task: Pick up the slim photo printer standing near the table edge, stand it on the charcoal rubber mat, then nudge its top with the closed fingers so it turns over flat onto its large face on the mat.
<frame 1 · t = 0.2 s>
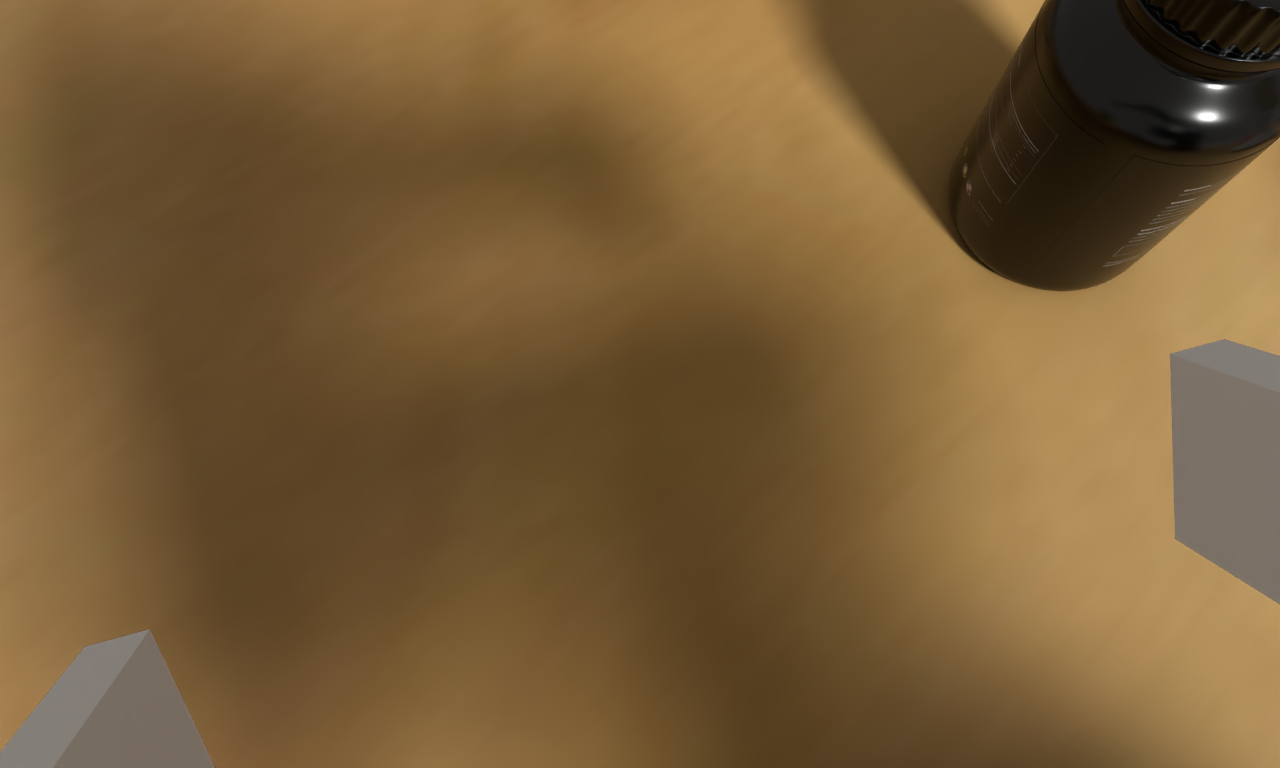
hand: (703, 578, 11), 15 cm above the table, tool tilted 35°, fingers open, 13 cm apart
supplement bottle: (1038, 209, 30), on the table
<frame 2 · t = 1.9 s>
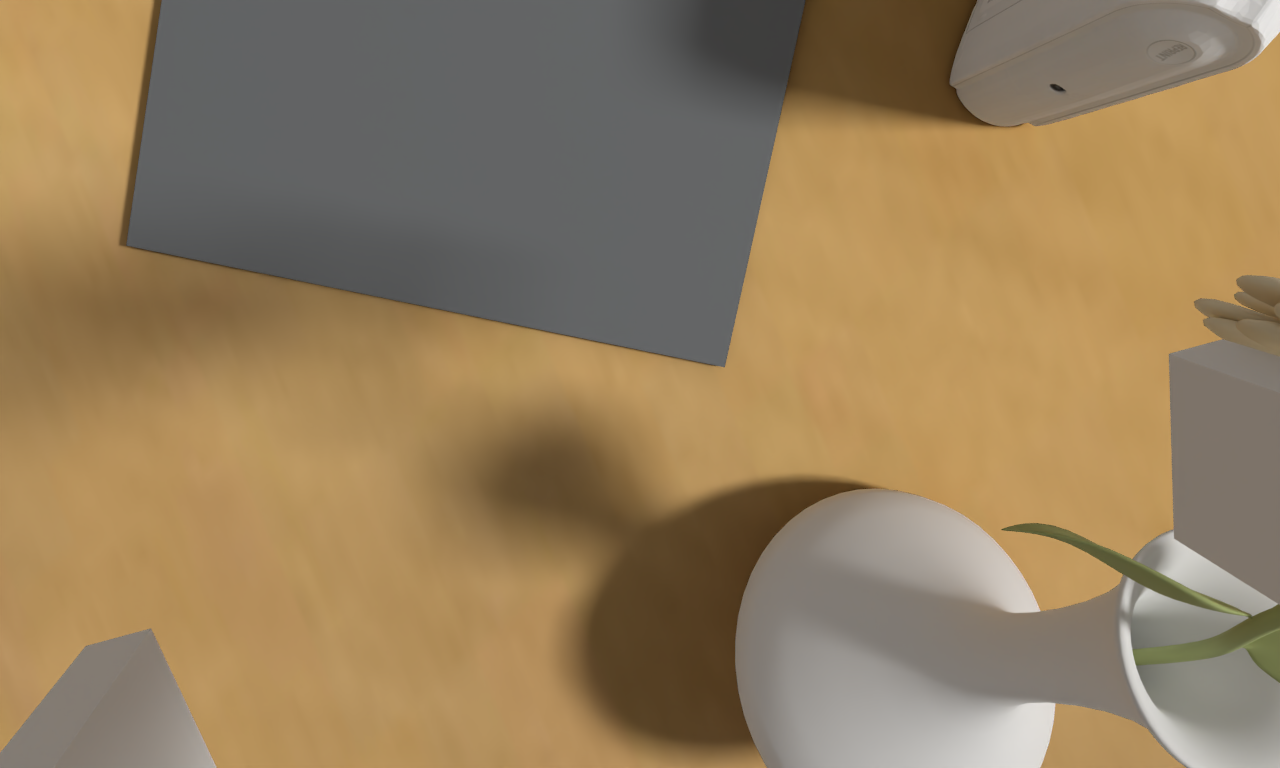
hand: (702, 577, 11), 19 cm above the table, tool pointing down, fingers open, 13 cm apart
mat: (481, 69, 29), on the table
flower in vase: (848, 649, 30), point 2 cm above the table
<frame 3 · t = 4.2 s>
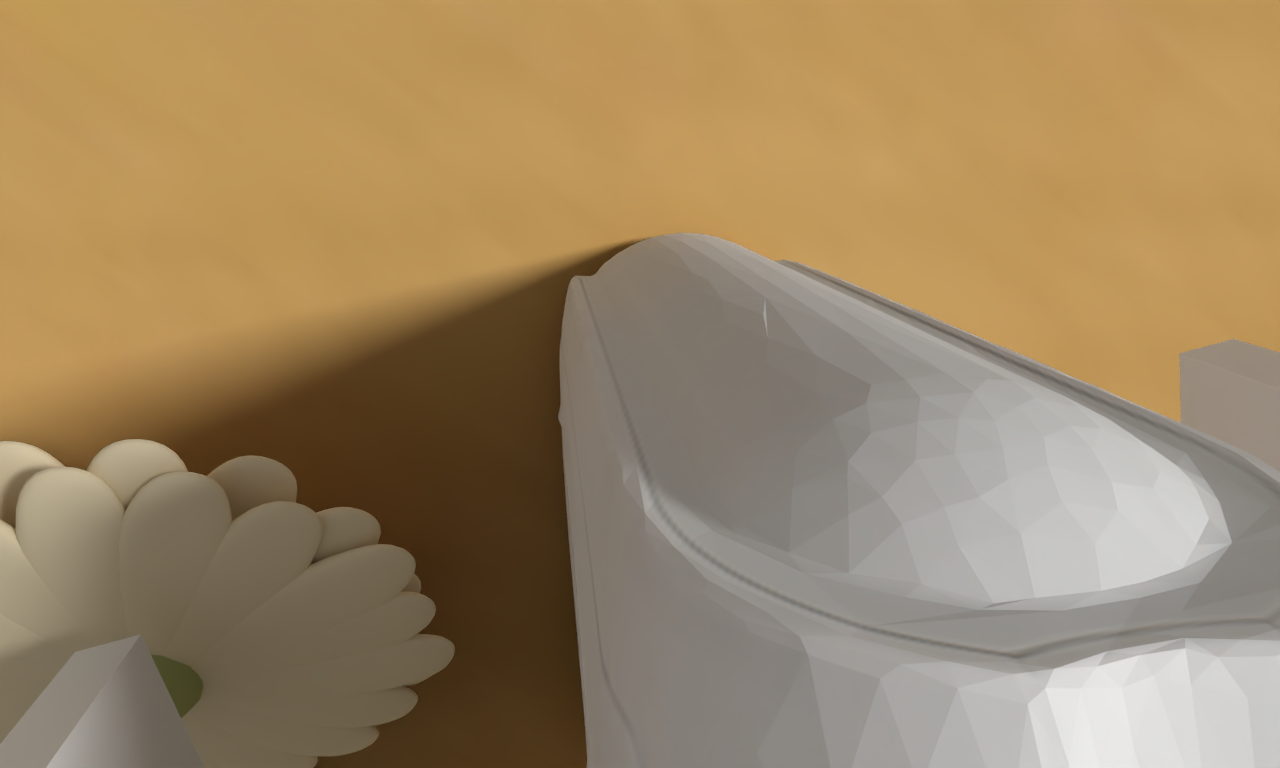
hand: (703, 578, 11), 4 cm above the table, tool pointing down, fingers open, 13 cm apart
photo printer: (687, 523, 15), on the table, touching flower in vase
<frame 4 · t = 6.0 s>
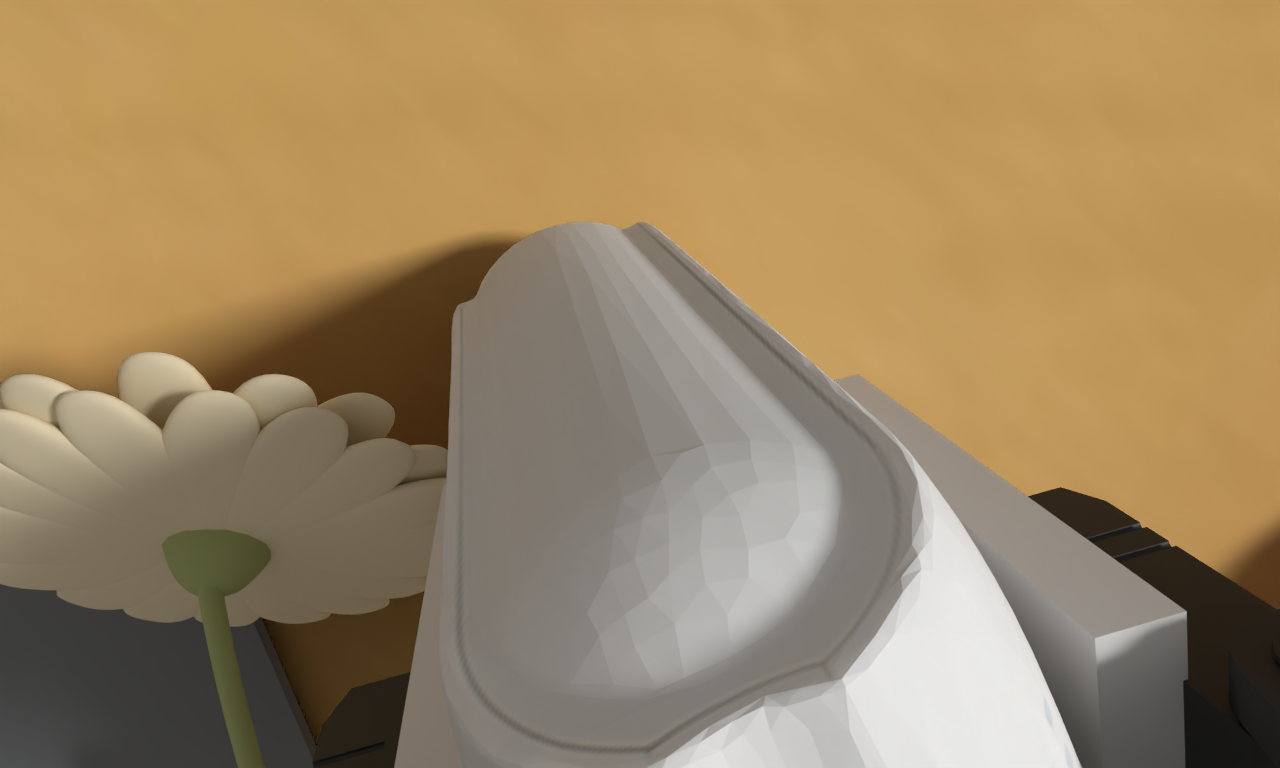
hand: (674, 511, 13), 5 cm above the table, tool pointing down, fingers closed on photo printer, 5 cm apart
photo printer: (646, 468, 17), point 1 cm above the table, touching gripper
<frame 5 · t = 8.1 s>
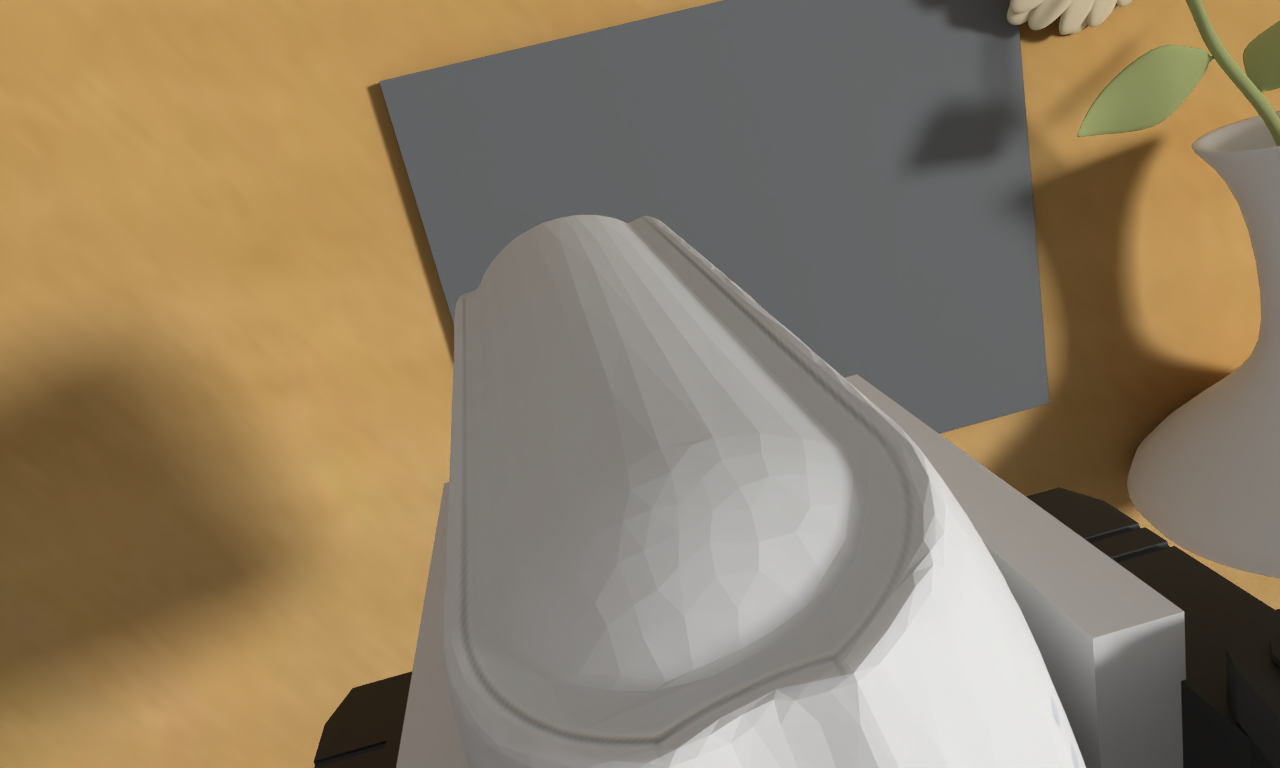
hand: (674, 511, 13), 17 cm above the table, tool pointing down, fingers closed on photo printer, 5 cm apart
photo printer: (646, 463, 17), point 13 cm above the table, touching gripper
mat: (748, 258, 29), on the table
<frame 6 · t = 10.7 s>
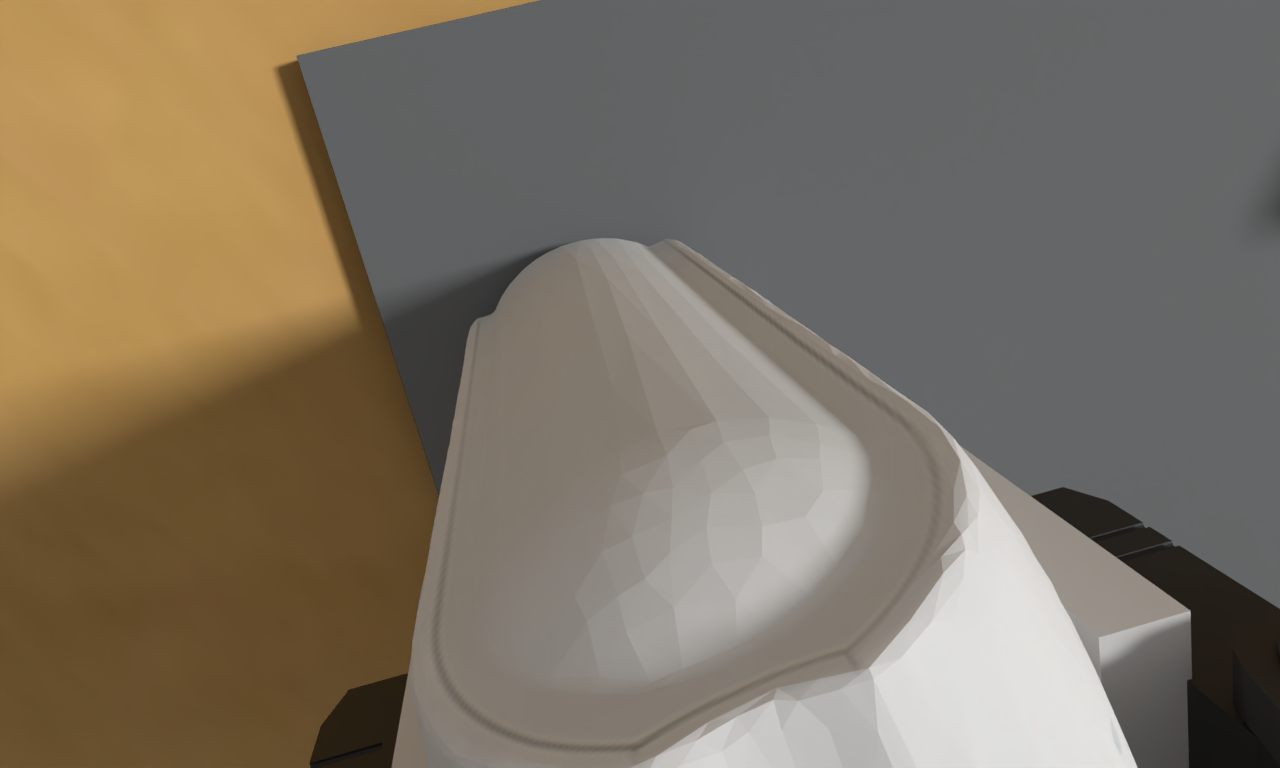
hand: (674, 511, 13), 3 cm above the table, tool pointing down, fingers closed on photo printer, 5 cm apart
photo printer: (667, 500, 16), resting on mat, touching gripper
mat: (967, 378, 16), on the table
when the fingers open (3 cm above the table, at t = 11.1 s): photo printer stays where it is, resting on mat.
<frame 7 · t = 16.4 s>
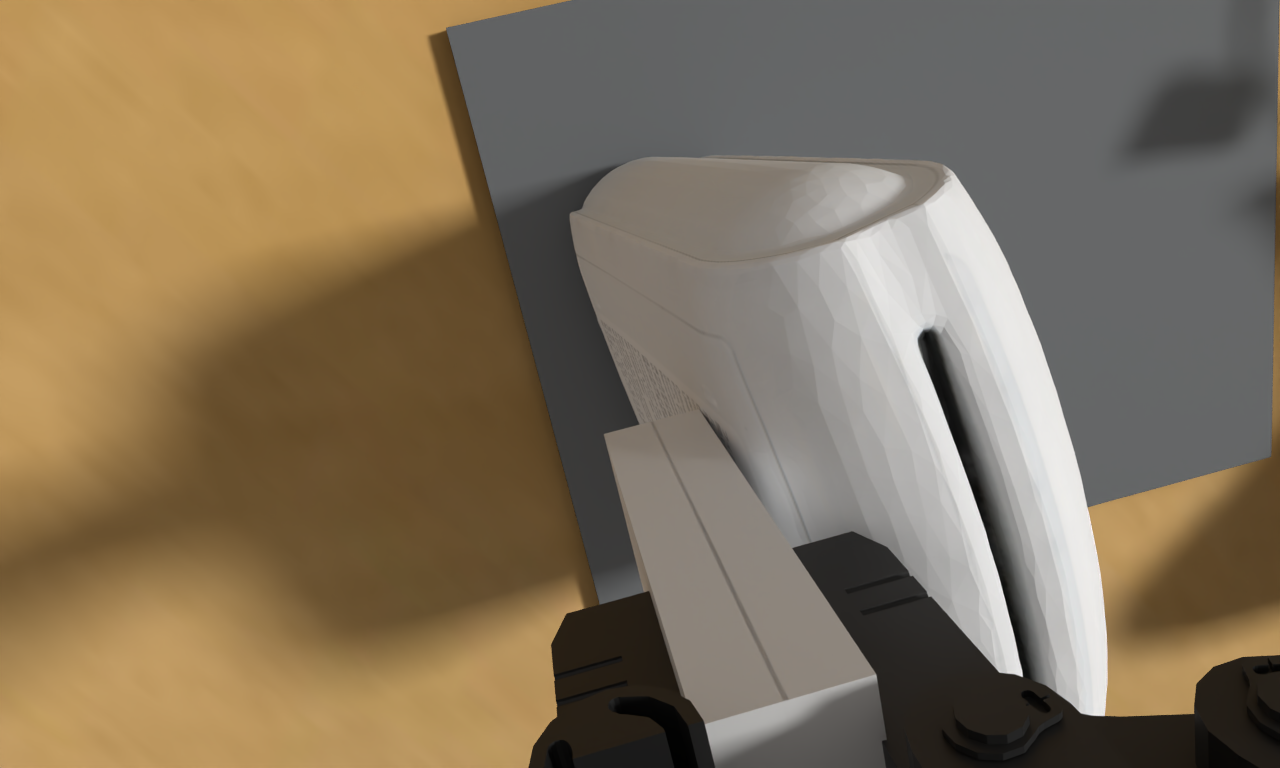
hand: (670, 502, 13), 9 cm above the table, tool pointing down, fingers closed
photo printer: (694, 357, 22), resting on mat, touching gripper
mat: (911, 270, 23), on the table
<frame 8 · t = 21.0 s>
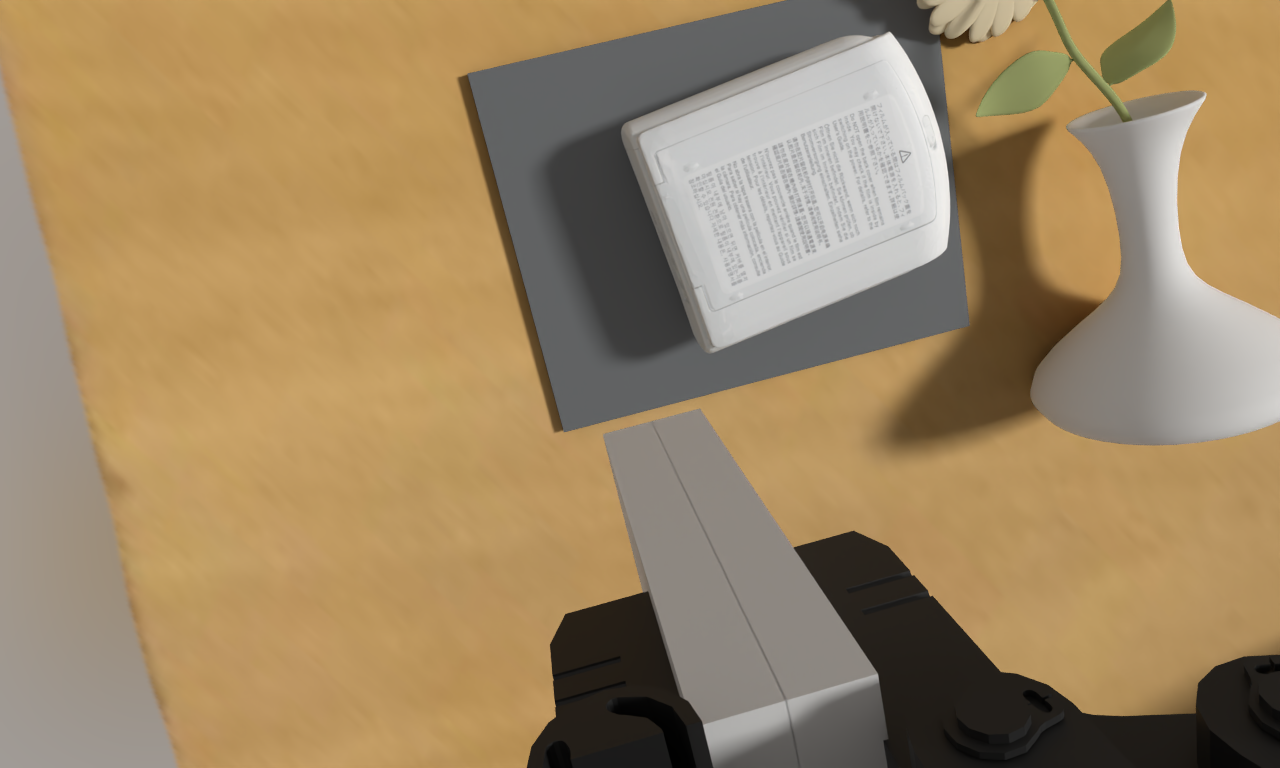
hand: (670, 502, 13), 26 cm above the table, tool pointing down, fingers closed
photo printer: (658, 248, 36), point 3 cm above the table, touching mat
mat: (737, 209, 39), on the table
flower in vase: (1152, 418, 40), point 4 cm above the table
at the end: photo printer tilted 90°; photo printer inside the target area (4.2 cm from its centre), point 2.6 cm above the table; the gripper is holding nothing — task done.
